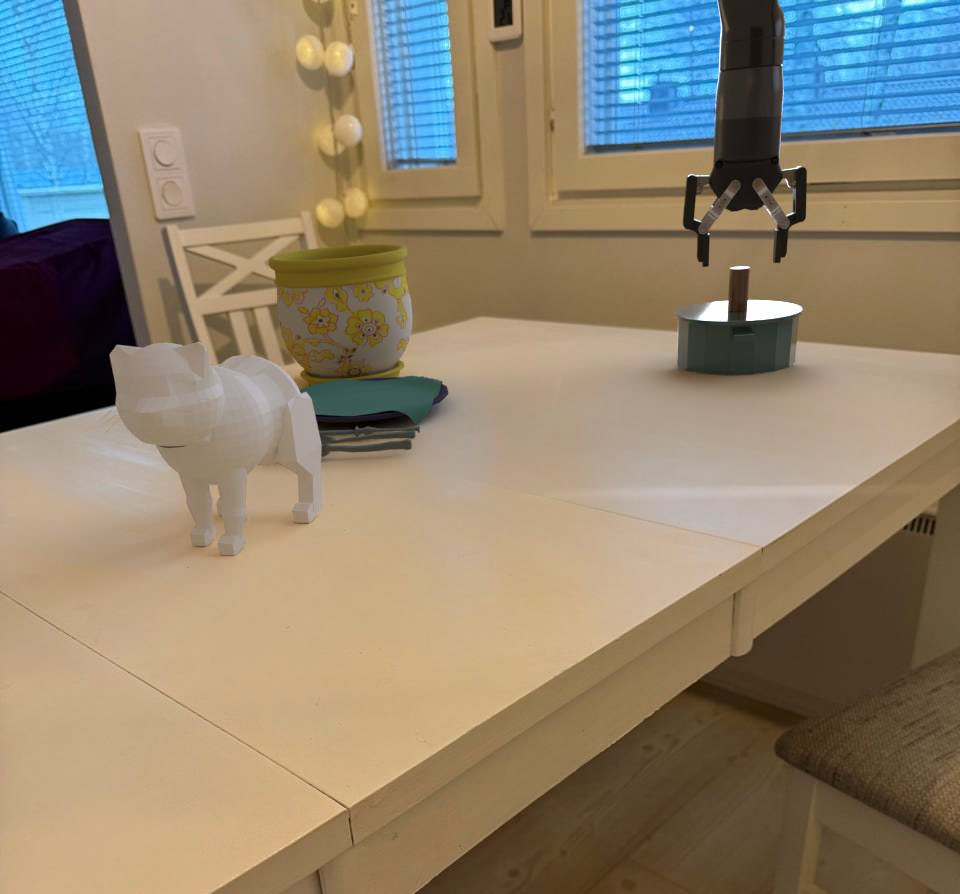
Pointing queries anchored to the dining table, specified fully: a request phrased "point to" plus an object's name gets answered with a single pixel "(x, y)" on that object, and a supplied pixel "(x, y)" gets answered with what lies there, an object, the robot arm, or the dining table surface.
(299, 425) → the cat figurine
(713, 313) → the cover
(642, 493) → the dining table surface
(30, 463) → the dining table surface
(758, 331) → the tin
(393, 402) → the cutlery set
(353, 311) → the flowerpot
